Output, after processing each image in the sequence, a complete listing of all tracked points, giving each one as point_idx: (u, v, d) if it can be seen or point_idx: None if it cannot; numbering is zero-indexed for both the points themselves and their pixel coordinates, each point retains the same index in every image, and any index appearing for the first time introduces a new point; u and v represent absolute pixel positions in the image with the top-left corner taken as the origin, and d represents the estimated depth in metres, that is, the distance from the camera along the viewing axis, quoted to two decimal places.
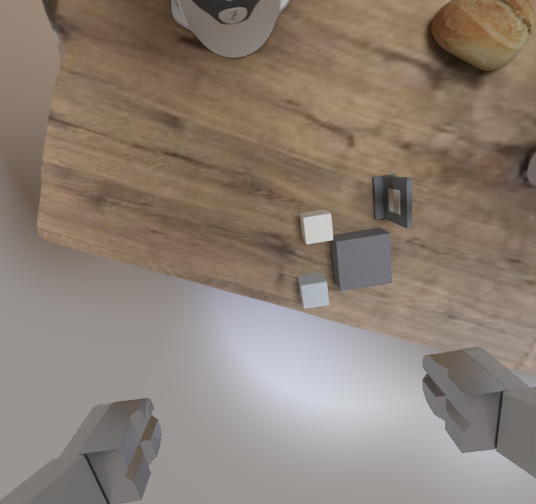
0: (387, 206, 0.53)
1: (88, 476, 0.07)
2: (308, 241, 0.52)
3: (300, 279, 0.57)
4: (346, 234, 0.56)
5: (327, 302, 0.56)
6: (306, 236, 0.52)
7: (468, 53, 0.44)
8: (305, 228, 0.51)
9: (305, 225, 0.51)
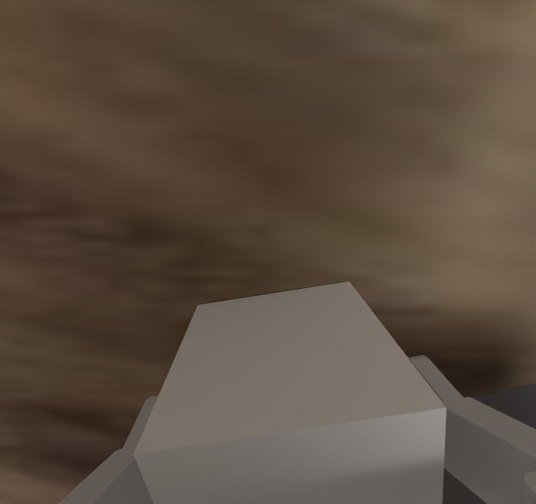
0: None
1: None
2: None
3: None
4: None
5: None
6: None
7: None
8: None
9: None
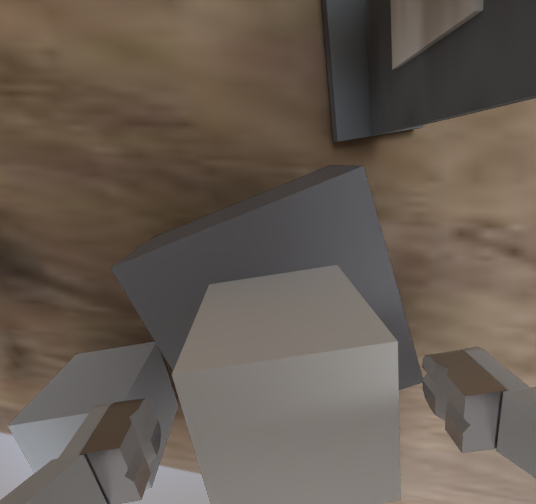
0: (385, 60, 0.11)
1: (88, 476, 0.07)
2: None
3: (59, 376, 0.15)
4: (202, 219, 0.14)
5: None
6: (213, 485, 0.07)
7: None
8: (200, 441, 0.07)
9: (197, 423, 0.07)
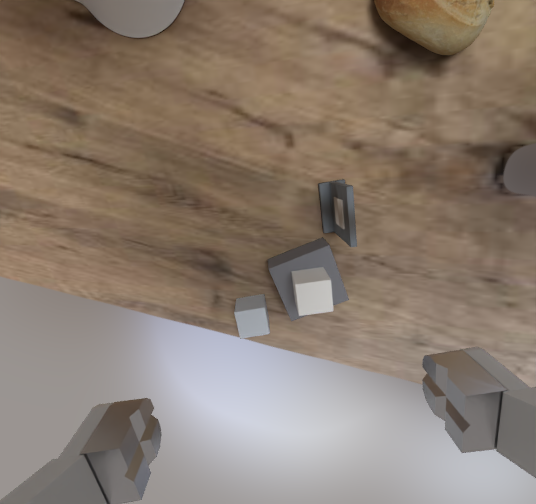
0: (335, 218, 0.44)
1: (88, 476, 0.07)
2: (301, 312, 0.41)
3: (237, 303, 0.49)
4: (284, 254, 0.47)
5: (267, 331, 0.47)
6: (299, 306, 0.41)
7: (416, 30, 0.35)
8: (298, 297, 0.40)
9: (298, 293, 0.40)
